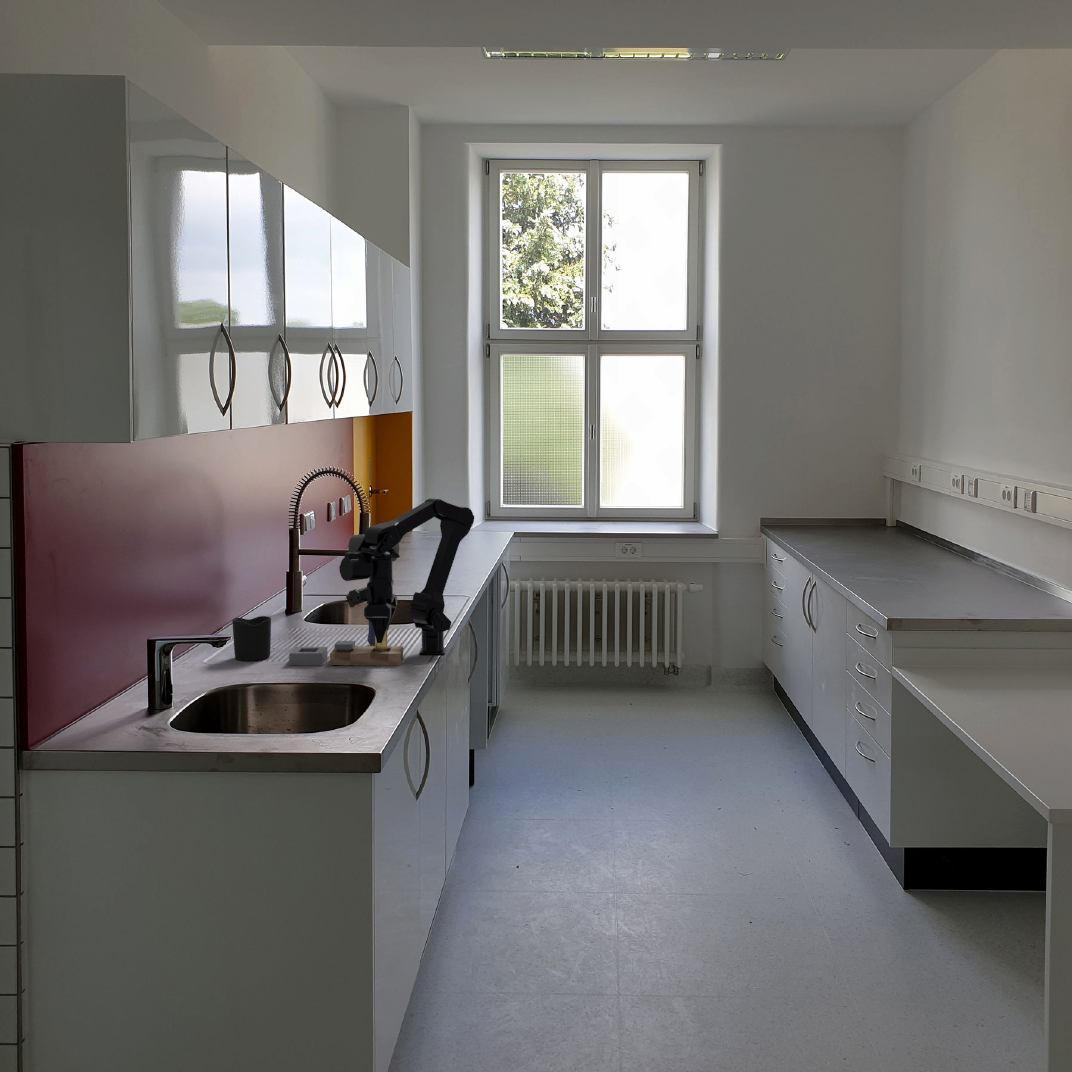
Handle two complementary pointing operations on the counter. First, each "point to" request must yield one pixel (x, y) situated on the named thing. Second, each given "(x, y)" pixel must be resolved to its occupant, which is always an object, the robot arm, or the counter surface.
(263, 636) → the pen holder
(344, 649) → the gray rectangular block
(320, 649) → the gray square frame
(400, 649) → the socket block
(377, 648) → the brass rod
